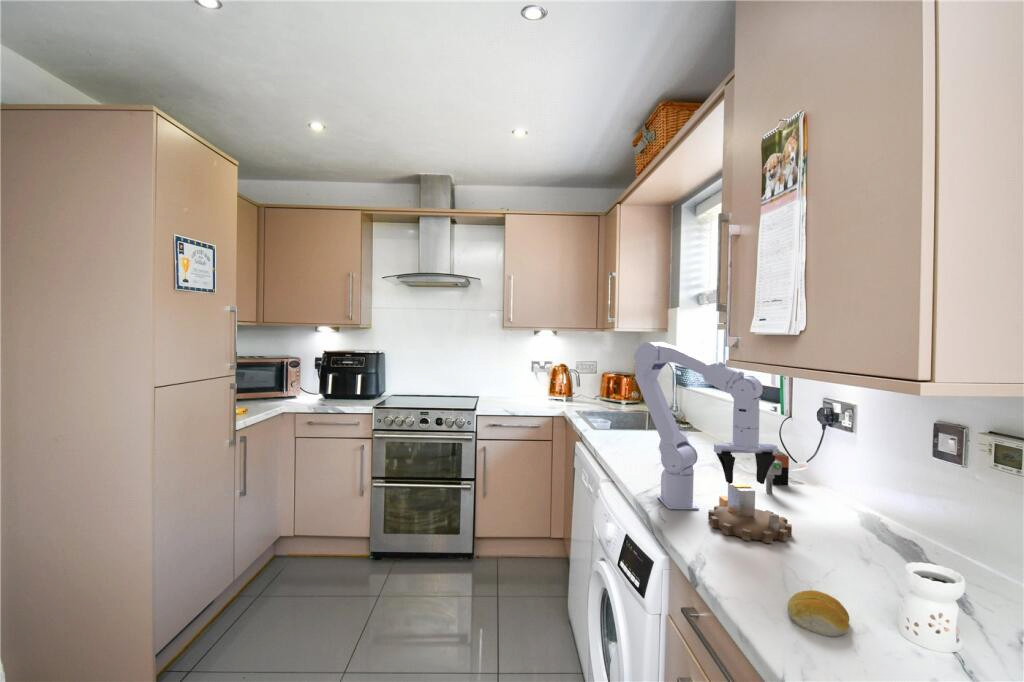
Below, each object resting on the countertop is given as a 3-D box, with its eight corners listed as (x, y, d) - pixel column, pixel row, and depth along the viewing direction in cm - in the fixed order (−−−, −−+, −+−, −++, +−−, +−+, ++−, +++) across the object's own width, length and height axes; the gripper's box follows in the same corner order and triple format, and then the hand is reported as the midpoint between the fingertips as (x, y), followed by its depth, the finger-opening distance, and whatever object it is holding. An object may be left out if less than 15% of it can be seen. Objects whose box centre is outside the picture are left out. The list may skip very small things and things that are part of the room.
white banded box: (727, 506, 118) (727, 481, 118) (742, 506, 118) (742, 481, 118) (739, 515, 112) (739, 489, 112) (754, 516, 112) (755, 489, 112)
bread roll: (849, 616, 77) (849, 592, 77) (848, 645, 70) (849, 618, 70) (790, 599, 82) (791, 576, 82) (783, 624, 74) (784, 599, 74)
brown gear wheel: (696, 525, 111) (697, 504, 111) (724, 507, 123) (725, 488, 123) (778, 550, 99) (778, 526, 99) (800, 526, 111) (800, 505, 111)
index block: (719, 507, 124) (719, 496, 124) (726, 507, 124) (726, 496, 124) (724, 512, 121) (724, 500, 121) (732, 512, 121) (732, 500, 121)
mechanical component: (766, 487, 142) (767, 454, 141) (782, 499, 131) (783, 463, 131) (756, 487, 142) (757, 453, 142) (771, 498, 132) (772, 463, 131)
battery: (780, 479, 150) (780, 448, 150) (788, 486, 143) (789, 453, 143) (765, 478, 150) (765, 447, 150) (773, 485, 144) (774, 452, 144)
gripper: (723, 429, 111) (722, 487, 111) (785, 430, 111) (784, 488, 111) (710, 423, 118) (709, 478, 118) (768, 424, 118) (767, 479, 118)
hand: (744, 482), depth 115 cm, fingers open, 7 cm apart
